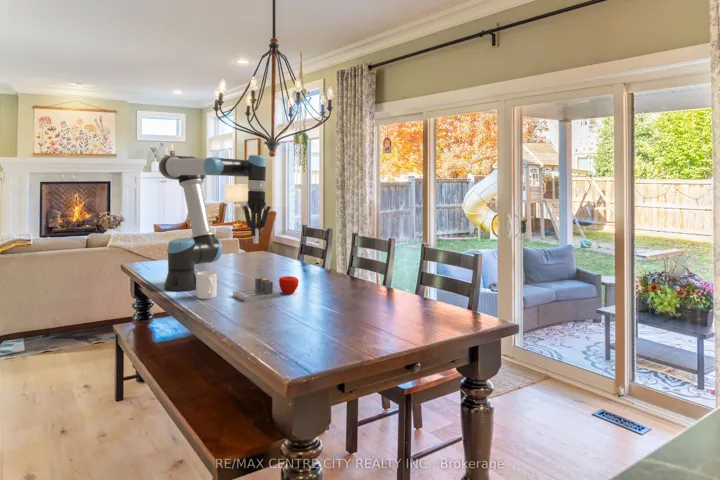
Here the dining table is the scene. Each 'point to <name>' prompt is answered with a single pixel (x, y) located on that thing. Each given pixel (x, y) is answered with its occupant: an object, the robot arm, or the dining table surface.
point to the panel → (254, 295)
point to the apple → (288, 284)
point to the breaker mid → (263, 284)
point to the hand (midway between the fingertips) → (255, 243)
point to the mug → (206, 285)
